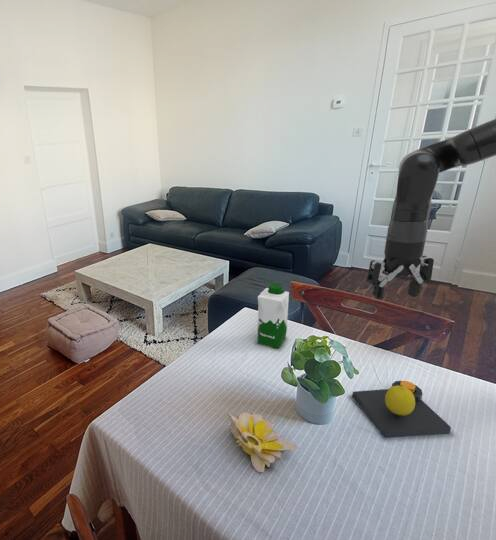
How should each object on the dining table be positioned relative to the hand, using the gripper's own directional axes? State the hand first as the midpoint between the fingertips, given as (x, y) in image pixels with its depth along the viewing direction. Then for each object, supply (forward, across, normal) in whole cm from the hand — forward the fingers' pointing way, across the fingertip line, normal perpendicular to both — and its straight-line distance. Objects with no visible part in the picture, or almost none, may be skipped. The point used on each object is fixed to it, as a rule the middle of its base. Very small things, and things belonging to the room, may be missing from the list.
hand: (395, 296), depth 88 cm
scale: (+24, -6, -15) cm, 29 cm away
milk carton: (+24, -24, +20) cm, 39 cm away
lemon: (+22, -8, -17) cm, 29 cm away
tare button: (+21, -1, -10) cm, 23 cm away
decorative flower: (+24, -42, -23) cm, 54 cm away
